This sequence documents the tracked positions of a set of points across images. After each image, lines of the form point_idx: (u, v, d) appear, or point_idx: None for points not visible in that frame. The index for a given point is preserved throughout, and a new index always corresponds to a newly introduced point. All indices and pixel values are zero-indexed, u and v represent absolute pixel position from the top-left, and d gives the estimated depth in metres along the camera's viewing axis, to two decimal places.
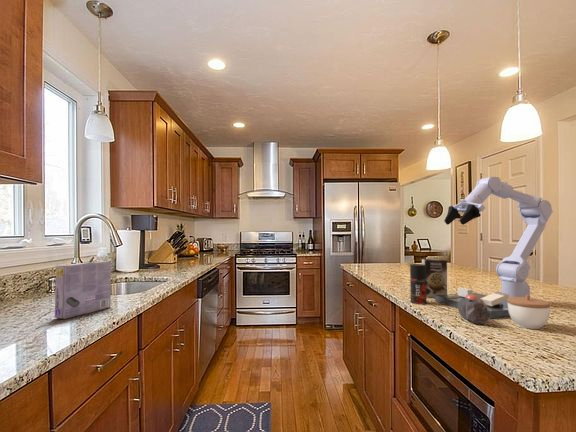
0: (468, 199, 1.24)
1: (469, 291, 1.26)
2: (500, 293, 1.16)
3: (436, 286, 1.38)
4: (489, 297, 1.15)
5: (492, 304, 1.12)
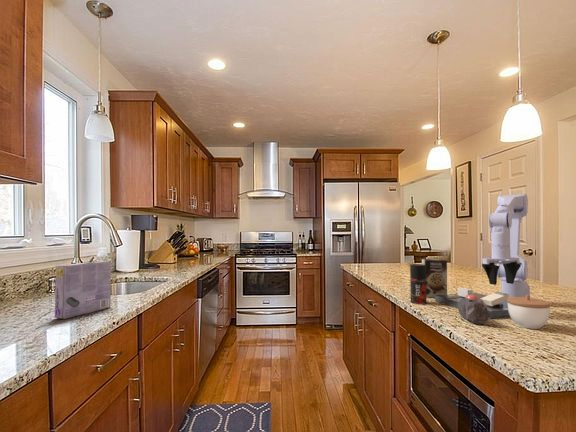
0: (509, 255, 1.14)
1: (469, 291, 1.26)
2: (500, 293, 1.16)
3: (436, 286, 1.38)
4: (489, 297, 1.15)
5: (492, 304, 1.12)
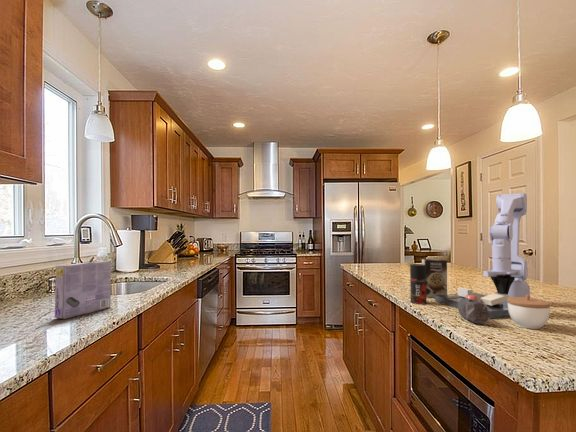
0: (510, 267, 1.14)
1: (469, 291, 1.26)
2: None
3: (436, 286, 1.38)
4: (489, 297, 1.15)
5: (492, 303, 1.12)
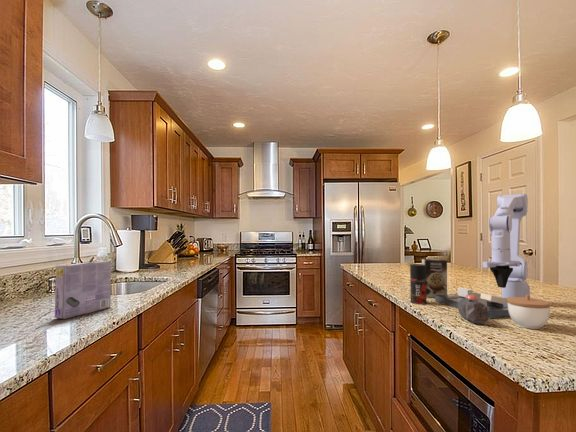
0: (510, 258, 1.14)
1: (469, 291, 1.26)
2: (501, 297, 1.16)
3: (436, 286, 1.38)
4: (490, 295, 1.15)
5: (491, 299, 1.12)
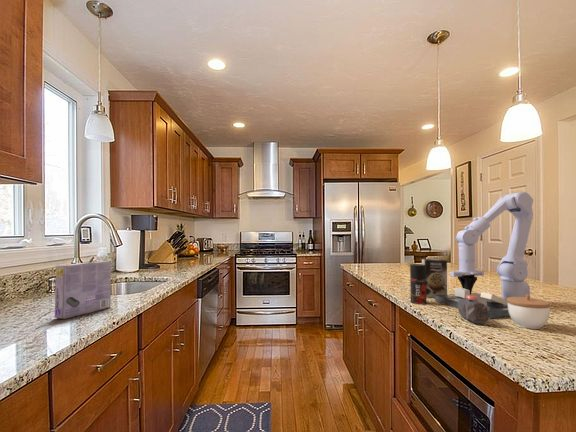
0: (474, 268, 1.27)
1: (466, 291, 1.26)
2: None
3: (436, 286, 1.38)
4: None
5: (492, 298, 1.12)
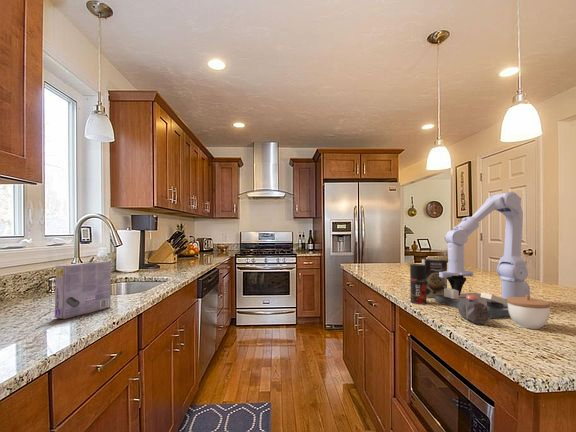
0: (463, 269, 1.26)
1: (455, 292, 1.25)
2: None
3: (436, 286, 1.38)
4: None
5: (492, 298, 1.12)
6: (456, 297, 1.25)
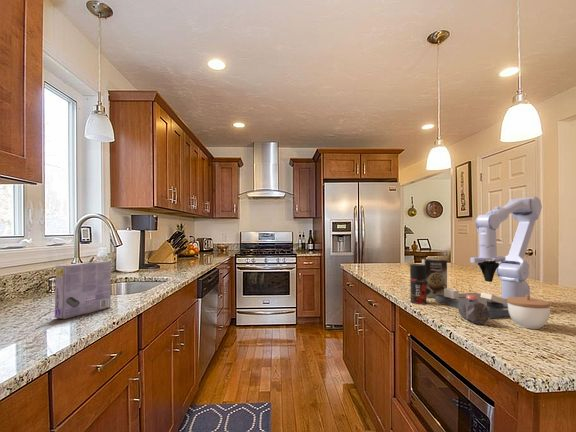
0: (496, 254, 1.22)
1: (455, 292, 1.25)
2: None
3: (436, 286, 1.38)
4: None
5: (492, 298, 1.12)
6: (456, 297, 1.25)
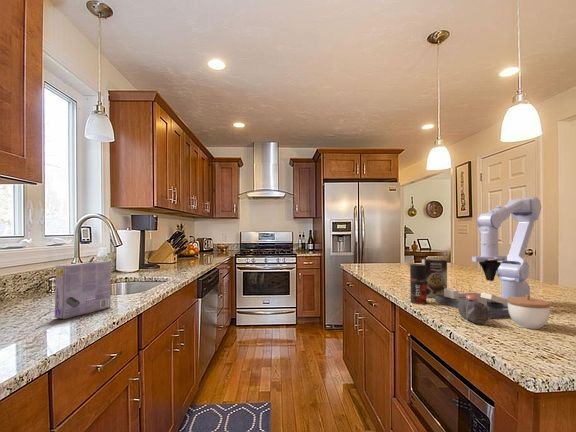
0: (497, 253, 1.21)
1: (455, 292, 1.25)
2: None
3: (436, 286, 1.38)
4: None
5: (492, 298, 1.12)
6: (456, 297, 1.25)
